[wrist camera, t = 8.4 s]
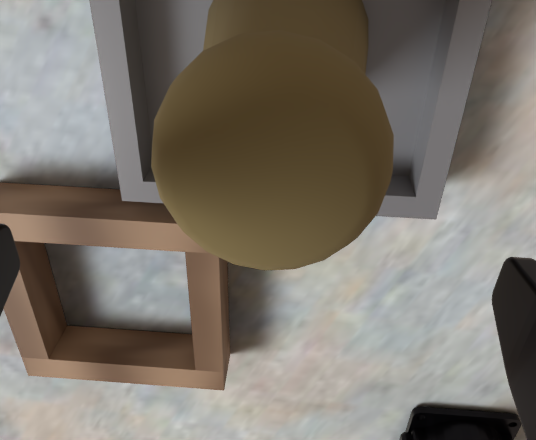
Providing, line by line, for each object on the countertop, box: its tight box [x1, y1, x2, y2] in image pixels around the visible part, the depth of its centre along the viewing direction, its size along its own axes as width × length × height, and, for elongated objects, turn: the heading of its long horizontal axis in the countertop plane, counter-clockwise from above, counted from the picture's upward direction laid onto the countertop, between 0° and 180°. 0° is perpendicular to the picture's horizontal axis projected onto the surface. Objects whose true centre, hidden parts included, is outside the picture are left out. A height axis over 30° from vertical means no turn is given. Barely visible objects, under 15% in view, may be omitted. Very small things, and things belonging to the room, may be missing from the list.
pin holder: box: [0, 183, 230, 390], centre depth 26 cm, size 11×11×2 cm
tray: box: [89, 0, 492, 219], centre depth 18 cm, size 13×13×2 cm
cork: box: [151, 0, 394, 270], centre depth 14 cm, size 6×6×11 cm
